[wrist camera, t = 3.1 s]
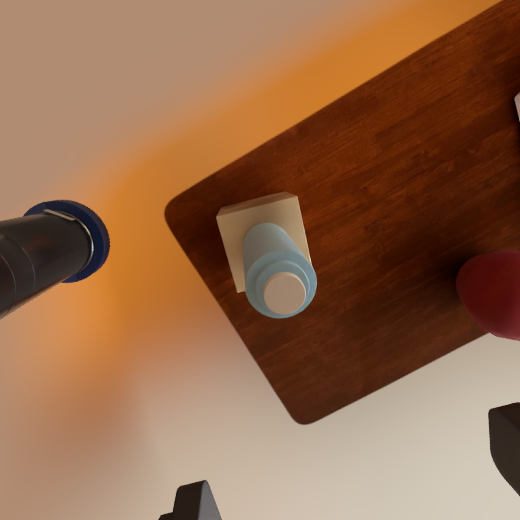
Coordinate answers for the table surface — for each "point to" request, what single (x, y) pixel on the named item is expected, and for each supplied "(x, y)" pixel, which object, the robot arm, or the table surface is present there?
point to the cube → (251, 214)
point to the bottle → (276, 272)
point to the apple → (492, 291)
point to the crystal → (518, 103)
